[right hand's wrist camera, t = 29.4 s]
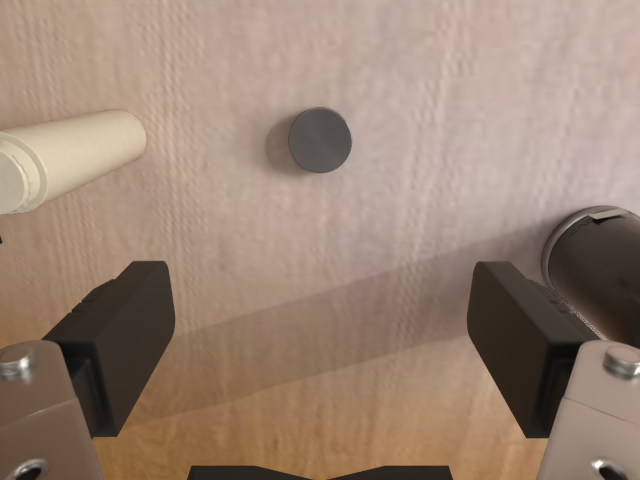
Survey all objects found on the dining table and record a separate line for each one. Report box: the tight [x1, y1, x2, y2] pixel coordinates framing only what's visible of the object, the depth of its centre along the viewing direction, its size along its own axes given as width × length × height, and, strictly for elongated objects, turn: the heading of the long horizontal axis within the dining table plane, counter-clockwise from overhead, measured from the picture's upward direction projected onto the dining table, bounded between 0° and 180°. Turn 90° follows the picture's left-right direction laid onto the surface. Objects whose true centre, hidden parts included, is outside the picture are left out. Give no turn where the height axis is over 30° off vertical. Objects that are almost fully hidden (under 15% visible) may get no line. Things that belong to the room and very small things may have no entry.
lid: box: [289, 107, 352, 173], centre depth 35 cm, size 5×5×2 cm
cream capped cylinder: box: [0, 109, 147, 215], centre depth 28 cm, size 4×4×15 cm
